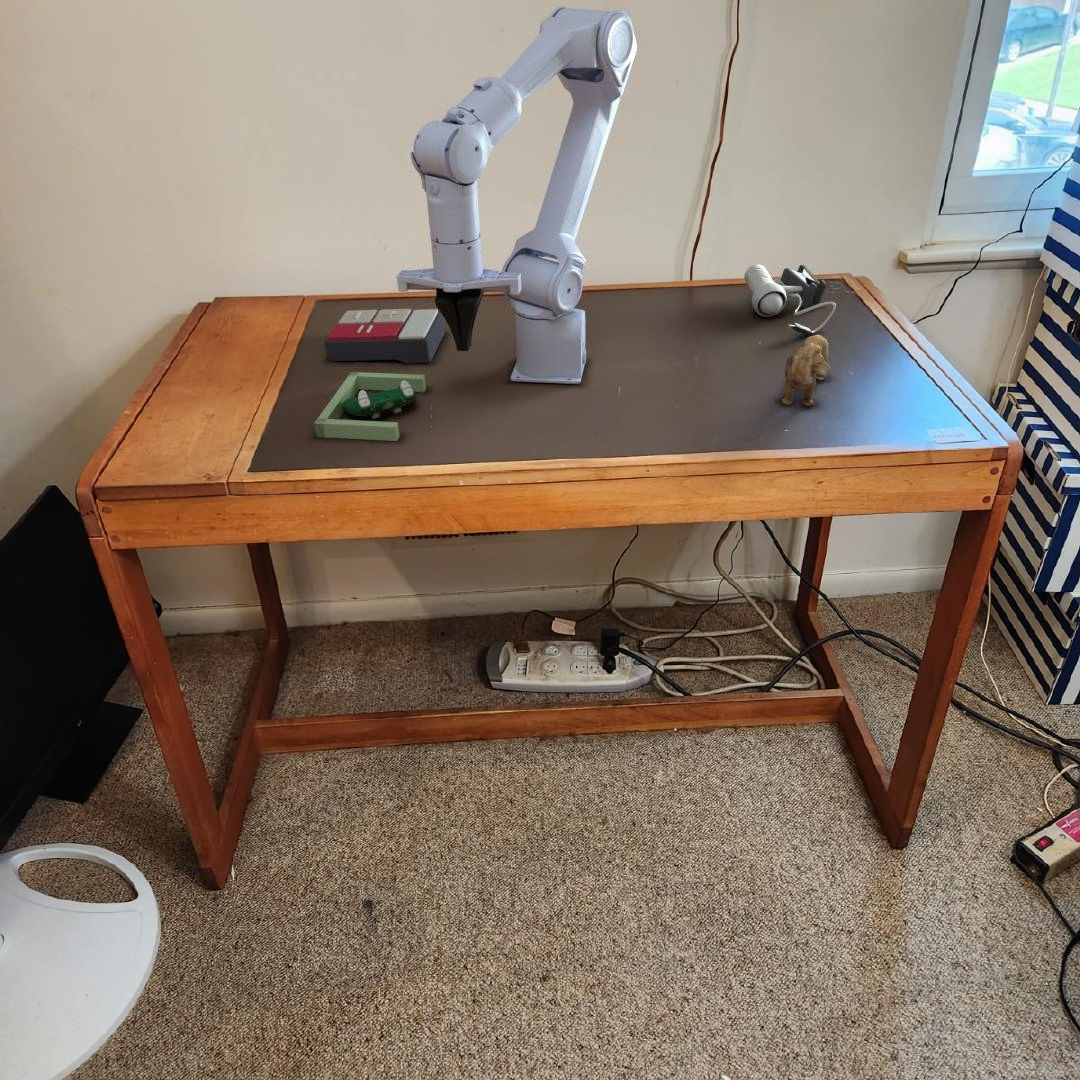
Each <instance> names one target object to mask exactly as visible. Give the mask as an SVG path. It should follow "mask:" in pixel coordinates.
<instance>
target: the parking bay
mask: <svg viewBox="0 0 1080 1080" xmlns="http://www.w3.org/2000/svg"><path fill="white" fill-rule="evenodd" d="M403 380H406V381H407V382H408V383H409V384H410V386H411V387H412V388H413V389H414V391H415V393H425V391H426V389H427V385H426V376H425V374H411V373H410V374H409V373H385V372H364V371H363V372H362V371H361V372H360V371H351V372H350V373H349V374H348V376H347V377H346V378H345V380H344V381H343V382H342V383H341V385H340V387H339V388H338V390H337V391H336V392H335V393H334V395H333V396H332V398H331V399H330V400H329V402H328V403H327V405H326V406H325V407H324V409H323V410H322V411H321V413H320V415H319V416H318V417H317V419H316V420H315V421H314V428H315V432H316V438H325V439H327V438H328V439H345V440H367V441H385V442H386V441H388V442H398V440H399V438H400V437H401V436H400V430H399V429H400V428H399V422H398V421H397V422H396V421H380V420H379V421H376V420H357V419H355V420H354V419H340V418H341V416H343V414H344V412H345V411H344V410H343V408H342V404H343V402H344V401H345V400H346V399H348V398H354V397H356V394H357V393H358V391H359V390H360V391H361V390H364V391H383V392H384V391H388V390H392V389H396V388H398V387H399V385H400V384H401V382H402V381H403Z"/></svg>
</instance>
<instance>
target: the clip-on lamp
mask: <svg viewBox="0 0 1080 1080" xmlns="http://www.w3.org/2000/svg"><path fill="white" fill-rule="evenodd" d="M770 275H771V274H769V272H768V270H767V268H765V266H763V264H758V263H757V264H753V265H750V266H749V267H748V268H747V269H746V271H745V273H744V281H745V283H746V285H747V288H748V289H749V291H750V294H751V295H752V296H751V297H752V299H751V304H752V308H753V309H754V311H755V312H756V313H757V314H758V315H760V316H762V317H765V318H769V317H774V316H776V315H778V314H779V313H781V311H782V310H784V308H785V307H786V305H787V297H788V296H789V297H791V298H795V297H797V298H798V300H799V301H798V302H799V303H798V306H797V307H796V309H795V310H794V313H793V315H794V316H799V315H802V314H805V313H808V312H810V311H812V310H815V309H818V308H821V307H823V306H829V305H832V310H831V312H830V313H829V315H828V316H827V318H826V319H825V320H824V321H823V322H822V323H821V324H820V325H818V327H817V328H815V329H813V330H811V329H810V328H809V327H807V326H804V325H801V324H799V323H796V322H792V323H791V324H788V327H791V328H792V330H794V331H795V332H796V333H801V334H802V335H806V336H808V337H810V336H812V334H814V333H816V332H818V331H819V330H821V329H822V328H823V327H824V326H825V325H826V324H827V323H828V322H829V320H830V319H831V318H832V316H833V314H834V313H835V311H836V308H837V305H836V302H834V301H825V302H821V300H822V298H823V296H824V293H825V290H826V288H827V282H826V281H825V280H824V279H821V280H818V279H817V278H816V276H815V275H813V273H812V272H811V271H810V269H808V268H807V266H806V265H805V264H800V265H799V266H798V269H797V271H796V270H793V269H791V268H789V267H786V268H784V269H783V271H782V274H781V276H779V277H777V278H776V279H774V280H773V279H772V277H771V276H770ZM787 295H788V296H787ZM811 305H812V306H811ZM801 306H802V308H804V309H802V310H799V309H800V307H801ZM798 310H799V311H798Z"/></svg>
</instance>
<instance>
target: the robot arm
mask: <svg viewBox="0 0 1080 1080" xmlns="http://www.w3.org/2000/svg"><path fill="white" fill-rule="evenodd" d="M637 49H638V45H637V39H636V36H635V31H634V25H633V23H632V19H631V17H630V16H629V14H627V12H625V11H623V10H621V9H613V10H600V9H597V10H596V9H584V8H570V7H568V6H564V5H563V6H558V7H556V8H554V9H553V10H552V11H551V13H549V15H548V16H547V17H545V18H544V19H542V20H541V21H540V25H539V31H538V35H537V36H536V38H534V39H533V41H532V42H531V43H530V44H529V45H528V46H527V48H526V49H525V50H524V51H523V52H522V53H521V55H520V56H518V58H517V59H516V60H515V61H514V62H513V64H512V65H511V66H510V67H509V68H508V69H507V70H506V72H505V73H503V74H502V76H501V78H499V77H496V76H488V77H485V78H484V77H479V78H477V80H475V81H474V82H473V84H472V86H473V89H472V90H471V91H470V92H469V93H468V94H467V95H466V96H465V97H464V98H463V99H461V100H460V102H458V103H457V104H456V105H455V106H451V107H450V108H449V109H448V110H447V111H446V115H445V116H444V117H443V118H442V119H441V121H440V120H432V121H429V122H426V123H425V124H424V125H423V126H422V128H420V129H419V130H418V132H417V134H416V135H415V138H414V141H413V148H412V149H413V150H412V151H411V152H410V153H409V155H410V160H411V163H412V166H413V167H414V169H415V170H416V171H417V173H418V175H419V176H420V179H421V187H422V188H421V189H422V190H424V192H425V193H426V204H427V206H426V207H427V215H428V226H429V237H430V245H431V246H430V247H431V256H432V266H433V268H421V269H408V270H407V269H402V270H401V269H400V271H399V272H398V274H397V275H396V283H397V290H398V292H401V293H403V292H404V293H405V292H406V293H407V292H408V291H435V293H436V294H435V298H434V305H435V307H436V309H438V310H439V311H440V312H441V314H442V316H443V319H444V320H445V322H446V324H447V326H448V328H449V330H450V332H451V335H452V337H453V340H454V343H455V347H456V351H457V352H469V350H470V349H471V347H472V339H473V331H474V326H475V321H476V318H477V317H476V316H477V313H478V311H479V307H480V304H481V302H482V299H483V296H484V294H485V293H503V294H504V296H505V297H506V298H507V299H510V307H511V308H512V309H514V322H515V342H516V343H515V344H516V362H515V365H514V368H513V371H512V372H511V375H510V381H511V382H520V383H522V382H523V383H542V384H543V383H546V384H566V385H567V384H570V385H579V384H581V382H582V377H583V373H584V369H585V364H586V363H587V350H586V311H585V309H579V308H575V307H576V306H577V305H578V303H579V301H580V299H581V297H582V293H583V286H584V285H583V282H584V281H583V279H584V272H585V268H586V266H587V260H586V258H585V257H584V255H583V253H582V252H581V250H580V248H579V247H578V245H577V243H576V239H577V236H578V233H579V229H580V226H581V223H582V220H583V216H584V213H585V211H586V207H587V204H588V201H589V199H590V195H591V192H592V189H593V186H594V183H595V180H596V176H597V173H598V170H599V167H600V163H601V160H602V157H603V154H604V151H605V148H606V145H607V142H608V139H609V135H610V132H611V131H612V127H613V123H614V120H615V118H616V117H615V116H616V113H617V111H618V108H619V103H620V101H621V97H622V95H623V93H624V91H625V87H626V84H627V82H628V78H629V74H630V71H631V68H632V66H633V62H634V60H635V59H634V58H635V56H636V53H637ZM555 76H557V77H558V79H559V81H560V83H561V84H562V86H563V88H564V89H565V90H566V91H567V92H569V93H570V96H571V99H572V103H573V104H572V107H571V111H570V113H569V117H568V120H567V123H566V125H565V126H566V127H565V129H564V133H563V137H562V139H561V142H560V146H559V149H558V152H557V155H556V159H555V162H554V166H553V168H552V172H551V175H550V178H549V182H548V185H547V188H546V191H545V194H544V198H543V201H542V204H541V207H540V211H539V214H538V217H537V220H536V224H535V226H534V228H533V229H531V230H530V231H528V232H526V233H524V234H523V235H522V236H520V237H519V238H517V239H516V240H515V243H514V247H513V250H512V251H511V254H510V255H509V256H508V258H507V259H506V261H505V262H504V264H503V267H502V269H501V270H495V269H488V268H483V254H482V238H481V224H480V223H481V222H480V221H481V220H480V208H479V207H480V206H479V192H478V190H479V189H478V179H480V178H482V176H483V174H484V172H485V170H486V167H487V164H488V160H489V157H490V155H491V154H492V153H493V149H494V147H495V146H496V145H497V144H499V142H500V141H502V139H503V138H504V137H505V136H506V135H508V133H509V132H511V130H512V129H513V128H514V127H515V126H517V124H519V122H520V121H521V117H522V109H523V108H522V104H523V103H525V102H526V101H527V100H529V98H531V97H532V96H533V95H534V94H535V93H536V92H538V91H539V90H541V88H543V87H544V86H545V85H546V84H547V83H549V81H551V80H552V79H553V78H555ZM547 258H550V259H547ZM551 259H554V260H558V261H554V260H551Z"/></svg>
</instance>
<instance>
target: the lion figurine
mask: <svg viewBox="0 0 1080 1080" xmlns="http://www.w3.org/2000/svg"><path fill="white" fill-rule="evenodd" d="M828 358H829V342H828V340H827V339H826V338H825V337H823V336H822V335H821V334H816V335H810V336H808V337H807V338H805V340H804V341H803V343H802V344H800V345H797V346H796V347H795V348H794V350H793V351H792V353H790V354H789V356H788V357H787V360H786V363H785V369H784V377H785V397H784V398H782V399H781V402H782V404H783V405H788V406H790V405H791V404H792V403H793V401H794V388H797V389H805V391H804V394H803V396H802V401H803V405H804V406H806V407H812V406H814V404H815V402H814V401H813V392H814V390H815V387H816V384H817V383H816V382H817V381H816V380H817V379H818V380H820V381H825V380H826V379H827V374H828V373H829V371H831V369H832V367H831V366H830V365H829V364H828Z"/></svg>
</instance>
